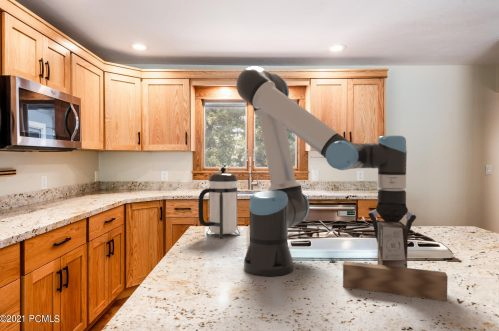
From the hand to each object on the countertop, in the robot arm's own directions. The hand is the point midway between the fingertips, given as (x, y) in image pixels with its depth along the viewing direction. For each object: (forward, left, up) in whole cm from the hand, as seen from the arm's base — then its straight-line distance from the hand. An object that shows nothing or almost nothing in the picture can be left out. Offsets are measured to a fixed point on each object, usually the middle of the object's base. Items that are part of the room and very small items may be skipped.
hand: (391, 270), depth 97 cm
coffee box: (0, -6, -2) cm, 6 cm away
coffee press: (-68, +27, -2) cm, 73 cm away
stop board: (0, -13, -1) cm, 13 cm away
